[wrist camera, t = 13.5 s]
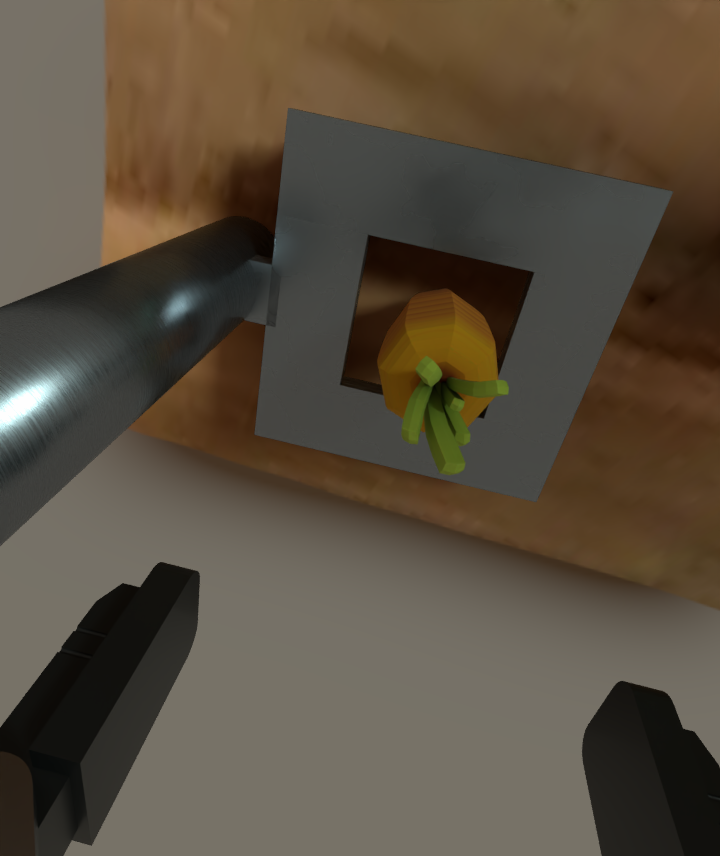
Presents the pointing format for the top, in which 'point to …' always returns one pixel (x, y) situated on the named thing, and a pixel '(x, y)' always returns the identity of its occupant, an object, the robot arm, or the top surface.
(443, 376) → the carrot
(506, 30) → the top surface
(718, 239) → the top surface
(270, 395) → the square hole stand
